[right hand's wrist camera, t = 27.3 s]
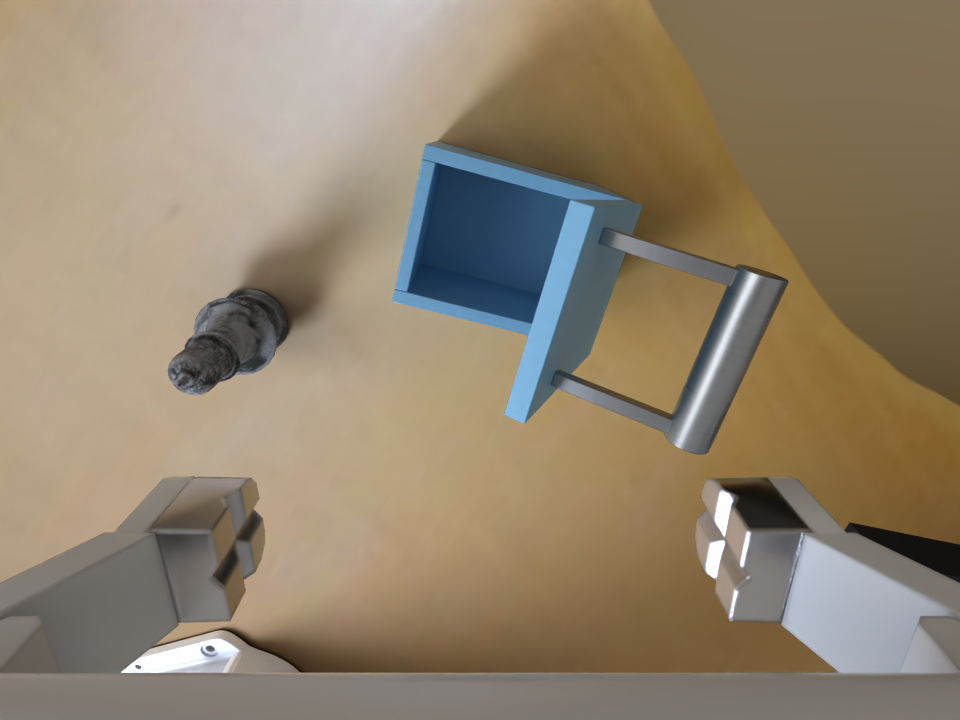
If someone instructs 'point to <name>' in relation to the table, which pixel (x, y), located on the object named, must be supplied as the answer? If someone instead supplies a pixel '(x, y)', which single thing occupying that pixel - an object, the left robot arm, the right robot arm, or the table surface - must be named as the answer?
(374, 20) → the table surface
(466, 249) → the chest
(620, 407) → the lid
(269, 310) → the dark grey turned figure
